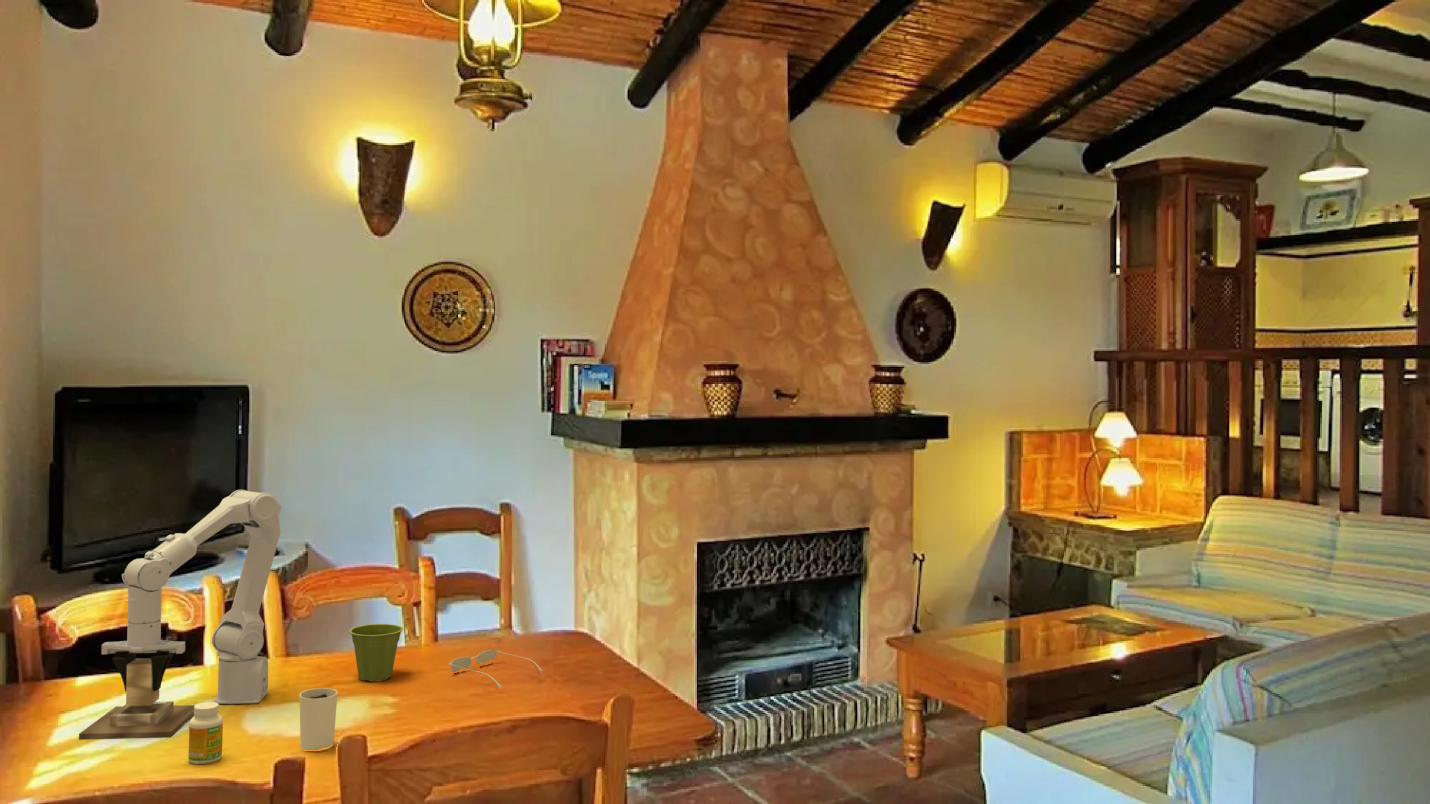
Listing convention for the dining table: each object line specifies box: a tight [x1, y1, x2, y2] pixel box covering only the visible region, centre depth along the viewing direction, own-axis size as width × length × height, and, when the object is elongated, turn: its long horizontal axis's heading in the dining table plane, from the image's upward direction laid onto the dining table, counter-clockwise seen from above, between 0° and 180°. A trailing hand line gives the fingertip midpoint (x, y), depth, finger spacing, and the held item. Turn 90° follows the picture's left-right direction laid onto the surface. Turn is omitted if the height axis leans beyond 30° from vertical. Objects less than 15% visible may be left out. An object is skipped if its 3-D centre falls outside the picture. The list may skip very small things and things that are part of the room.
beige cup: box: [298, 687, 338, 750], centre depth 189 cm, size 7×7×10 cm
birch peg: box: [125, 657, 160, 706], centre depth 198 cm, size 4×4×8 cm
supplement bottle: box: [187, 701, 224, 765], centre depth 181 cm, size 5×5×10 cm
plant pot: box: [348, 623, 404, 682], centre depth 232 cm, size 12×12×11 cm
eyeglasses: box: [448, 649, 543, 688], centre depth 237 cm, size 15×18×4 cm
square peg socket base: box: [78, 700, 196, 740], centre depth 198 cm, size 16×16×3 cm
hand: (142, 689), depth 198 cm, fingers closed on birch peg, 4 cm apart
